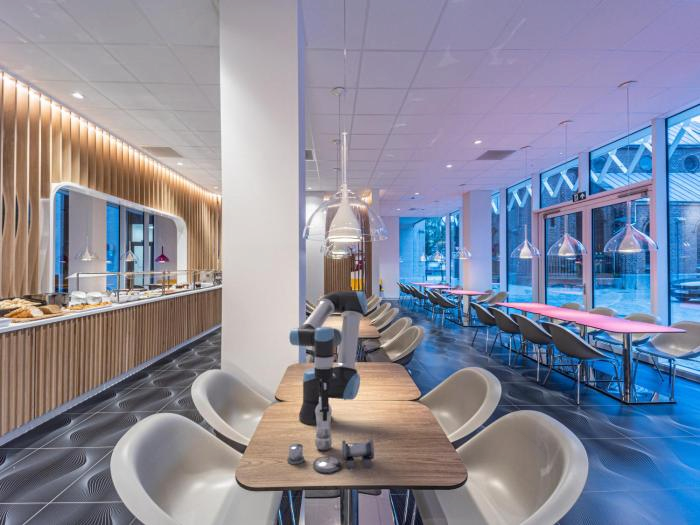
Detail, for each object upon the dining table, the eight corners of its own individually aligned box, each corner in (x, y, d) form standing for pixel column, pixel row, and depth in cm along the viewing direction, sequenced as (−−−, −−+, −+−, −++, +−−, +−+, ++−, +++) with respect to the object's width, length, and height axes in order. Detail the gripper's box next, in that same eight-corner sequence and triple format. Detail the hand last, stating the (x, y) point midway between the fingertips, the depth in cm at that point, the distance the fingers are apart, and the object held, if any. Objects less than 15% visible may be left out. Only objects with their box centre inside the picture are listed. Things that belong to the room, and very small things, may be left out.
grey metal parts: (313, 474, 123) (313, 450, 123) (312, 459, 132) (312, 437, 133) (375, 470, 126) (375, 446, 126) (369, 456, 135) (369, 434, 136)
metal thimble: (283, 461, 131) (284, 447, 131) (294, 455, 136) (294, 441, 136) (296, 466, 128) (296, 452, 128) (307, 459, 133) (307, 445, 133)
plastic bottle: (325, 454, 137) (326, 400, 138) (311, 449, 141) (311, 397, 141) (335, 447, 142) (335, 395, 143) (321, 443, 146) (321, 392, 147)
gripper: (336, 374, 131) (336, 434, 130) (330, 360, 156) (330, 410, 154) (315, 375, 130) (315, 435, 129) (313, 360, 155) (312, 411, 153)
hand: (323, 422), depth 142 cm, fingers open, 13 cm apart
